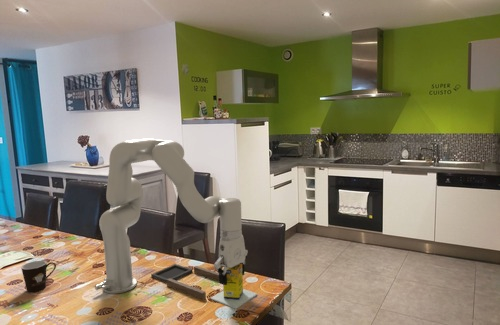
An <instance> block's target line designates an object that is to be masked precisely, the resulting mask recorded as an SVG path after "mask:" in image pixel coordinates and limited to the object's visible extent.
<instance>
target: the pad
mask: <svg viewBox="0 0 500 325" xmlns="http://www.w3.org/2000/svg"><path fill="white" fill-rule="evenodd" d="M256 296H258V293H256V292H253V291H251V290H247V289H245V288H243V293H242V295H241V297H240V299H239V300H238V299H225V298H224V289H223V290H222V291H219V293H217V294H214V296H211V297H210V300H212V301H214V302H217V303H219V304H222V305H224V306H227V307H230V308H233V309H234V310H237V309H238V308H240V307H241V306H243V305H245V304H246V303H248V302H249V301H251V300H252V299H253V298H255V297H256Z"/></svg>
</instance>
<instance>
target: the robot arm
mask: <svg viewBox="0 0 500 325" xmlns="http://www.w3.org/2000/svg"><path fill="white" fill-rule="evenodd" d="M184 157H185V150H184V147H183V146H182V145H181V144H180V142H179V143H178V141H173V140H163V139H154V138H141V139H131V140H130V139H129V140H125V141H122V142H119V143H117V144H115V145H114V146H113V147H112V148H111V150H110V154H109V164H108V167H109V169H108V176H107V182H106V183H107V185H106V195H105V196H106V197H105V198H106V202H107V203H108V204H109V205H110V206H113V207H112V208H110V209H107V210H106V211H104V212H103V213H102V214H101V215H100V218H99V222H98V223H99V224H98V225H99V229H100V231H101V235H102V240H103V242H102V243H103V249H104V260H105V274H106V277H105V278H103V279H104V280H103V281H102V282H101V283H97V284H95V285H94V289H95V291H99V290H100V289H101V290H102V291H104V293H107V294H110V295H111V294H113V295H115V294H122V293H126V292H129V291H131V290H133V289H134V288H135V287H136V286H137V285H138V280H137V278H135V277H133V268H132V254H131V242H130V237H129V235H128V234H127V233H128V232H127V231H126V230H127V229H128V228H130V227H132V226H134V225H135V224H136V223H137V222H139V219H140V217H141V212H142V211H141V210H142V204H143V203H142V202H143V194H144V191H143V190H144V189H143V186H142V184H141V182H140V181H139V180H138V179H137V178H135V177H133V172H134V171H133V166H132V164H135V163H142V162H147V161H153V162H154V163H155V164H156V165H157V166H158V167H159V168H160V170H162V172H163V174H165V175H166V177H167V178H168V179H169V180H170V181H171V182H172V183H173V185H174V186H175V189H176V192H177V196H178V197H179V200H180V202H181V204H182V205H183V207H184V208H185V209H186V211H187V212H188V213H189V214H190V216H192V218H194V220H196V221H197V222H198V223H202V224H208V223H210V222H211V221H213V220H214V219H215V218H217V217H219V218H220V220H219V222H220V234H219V237H220V238H219V245H218V258H217V260H216V261H215V263H213V267H214V269H215V272H217V273H219V281H218V282H219V284H221V285H227V274H225V273H226V271H227V269H228V268H232V267H234V266H236V265H238V264H242V275H243V276H245V265H246V260H247V257H248V253H249V252H248V249H246V246H245V244H246V243H245V239H244V235H243V231H242V227H243V226H242V201H241V200H240V199H238V198H235V197H227V198H225V197H220V196H216V195H212V196H208V197H206V198H204V197H203V196H202V195H201V193H199V191H198V189H197V187H196V185H195V170H194V169H193V168H192V166H191V165H190V164H189V163H188V162H187V161H186V160H185V159H184ZM223 269H224V270H223Z"/></svg>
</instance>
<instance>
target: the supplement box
mask: <svg viewBox="0 0 500 325" xmlns="http://www.w3.org/2000/svg"><path fill="white" fill-rule="evenodd" d="M222 270H224V268H222ZM225 274H227V285H223V284H222V285H223V286H222V288H223V290H224V298H225V299H238V300H239V299H240V297H241V295H242V293H243V289H244V282H243V281H244V280H243V279H244V277H243V276H244V275H242V264H238V265H236V266H234V267H232V268H228V269H227V271H226V273H225Z"/></svg>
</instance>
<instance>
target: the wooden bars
mask: <svg viewBox="0 0 500 325" xmlns="http://www.w3.org/2000/svg"><path fill="white" fill-rule="evenodd" d="M193 273H194V274H197V275H199V276H203V277H205V278H209V279H211V280H215V281H218V282H219V273H218V272H217V271H214V270H211V269H207V268H204V267H201V266H198V265H195V266H194V267H193ZM166 286H167V287H170V288H172V289H174V290H176V291H179V292H182V293H184V294H187V295H189V296H192V297H194V298H197V299H199V300H203V301H204V300H205V299H206V297H207V296H206V291H204V290H202V289H200V288H197V287H195V286H192V285H189V284H186V283H183V282H181V281H178V280H173V279H170V278H169V279H167V283H166Z"/></svg>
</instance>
